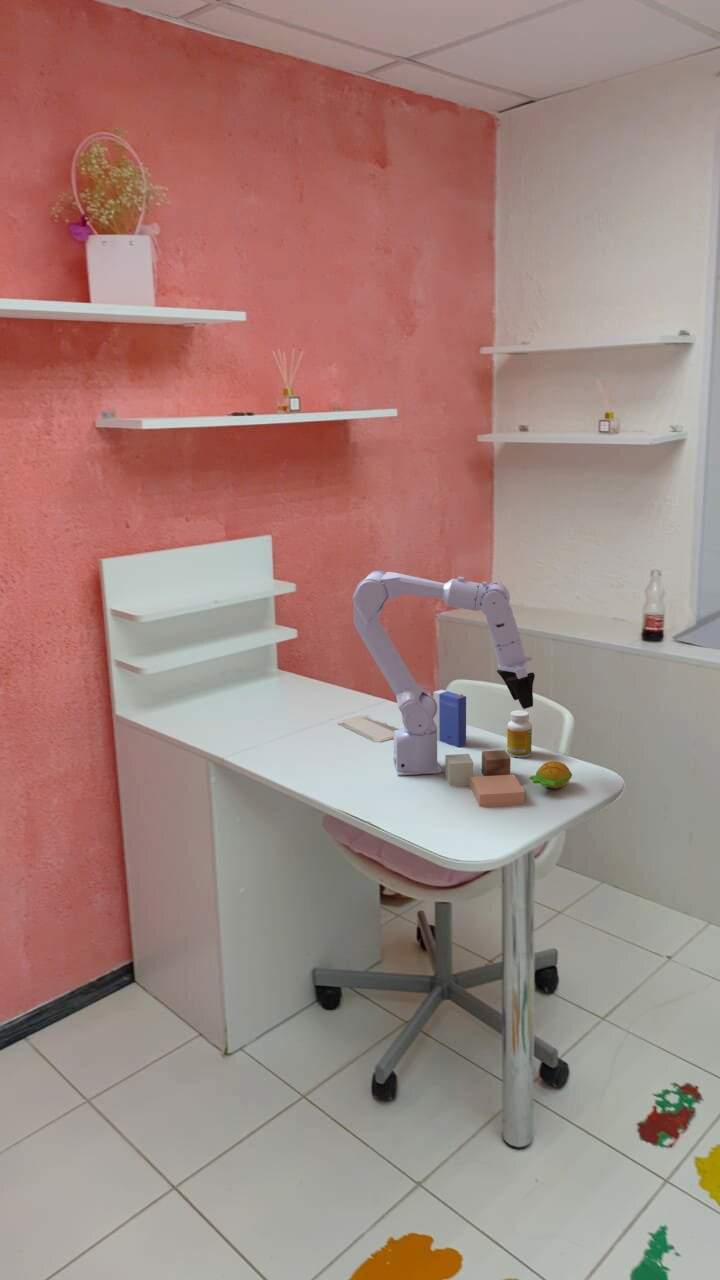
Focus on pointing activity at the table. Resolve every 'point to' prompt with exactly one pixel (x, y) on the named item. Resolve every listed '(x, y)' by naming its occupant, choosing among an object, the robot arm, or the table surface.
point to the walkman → (450, 717)
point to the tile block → (497, 790)
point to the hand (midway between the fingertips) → (523, 703)
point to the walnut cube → (495, 763)
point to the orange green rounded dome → (552, 774)
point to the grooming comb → (369, 728)
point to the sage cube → (459, 769)
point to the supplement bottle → (519, 734)
